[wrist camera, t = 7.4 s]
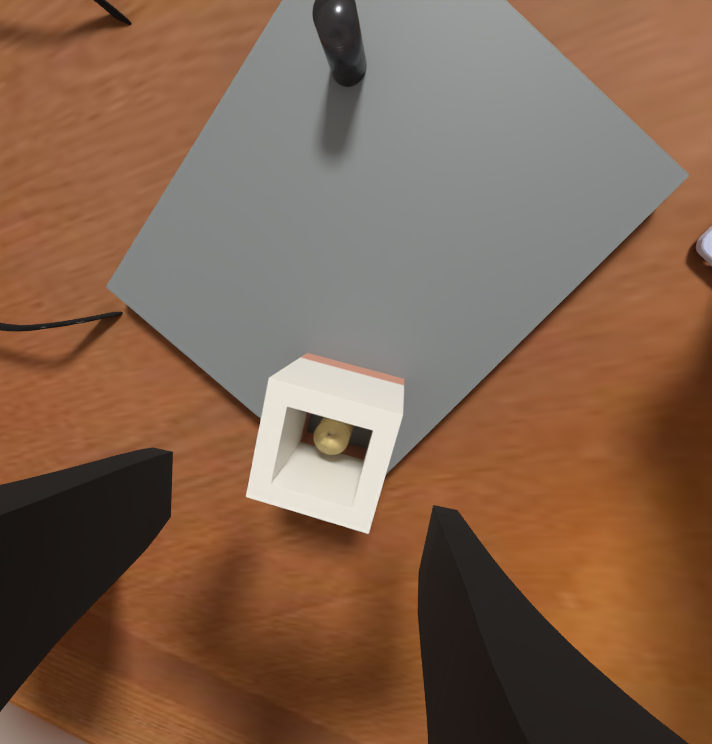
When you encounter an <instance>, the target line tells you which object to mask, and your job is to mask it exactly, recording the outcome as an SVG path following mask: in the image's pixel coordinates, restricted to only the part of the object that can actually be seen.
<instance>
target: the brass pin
mask: <svg viewBox="0 0 712 744" xmlns="http://www.w3.org/2000/svg"><path fill="white" fill-rule="evenodd" d="M354 426H355V425H351V424H348V423H344V422H341V421H337V420H334V419H330V418H327V417H323V419H322V420H321V422H320V423H319V425H318V426H317V428H316V430H315V432H314V443H315V445H316V447H317V448H318V449H319V450H320V451H321V452H323V453H325V454H328V455H336V454H339V453H341V452H342V451H344V450H345V448H346V447H347V445H348V442H349V439H350V437H351V434H352V432H353V429H354Z"/></svg>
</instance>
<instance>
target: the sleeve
mask: <svg viewBox="0 0 712 744" xmlns="http://www.w3.org/2000/svg"><path fill="white" fill-rule="evenodd" d="M403 404H404V379H403V378H399V377H396V376H392V375H388V374H384V373H381V372H377V371H373V370H369V369H366V368H362V367H358V366H355V365H351V364H347V363H343V362H340V361H336V360H332V359H329V358H325V357H321V356H317V355H314V354H310V353H306V354H305V355H303V356H302V357H300V358H299V359H297V360H296V361H294V362H292V363H291V364H289V365H288V366H286V367H285V368H283V369H282V370H280V371H279V372H277V373H276V374H274V375H272V376H271V377H269V379H268V385H267V390H266V395H265V400H264V405H263V411H262V416H261V421H260V426H259V432H258V437H257V442H256V447H255V452H254V458H253V463H252V468H251V473H250V479H249V484H248V489H247V494H246V497H248V498H251V499H255V500H258V501H261V502H265V503H268V504H271V505H275V506H278V507H281V508H285V509H288V510H291V511H294V512H298V513H301V514H304V515H308V516H311V517H314V518H318V519H321V520H324V521H328V522H331V523H334V524H338V525H341V526H344V527H347V528H351V529H354V530H357V531H361V532H364V533H367V534H369V530H370V527H371V524H372V520H373V517H374V513H375V510H376V506H377V503H378V499H379V496H380V493H381V489H382V486H383V482H384V479H385V475H386V472H387V469H388V465H389V462H390V458H391V455H392V451H393V448H394V444H395V441H396V438H397V434H398V431H399V427H400V424H401V420H402V417H403ZM311 413H312V414H316V415H319V416H323V417H327V418H330V419H334V420H337V421H341V422H344V423H348V424H351V425H355V426H359V427H362V428H366V429H369V430H372V432H371V436H370V440H369V443H368V447H367V449H365V448H362V447H358V446H355V445H351V444H348V445H347V447H346V448H345V450H344V451H342V452H341V453H339V454H336V455H328V454H325V453H323V452H321V451H320V450H319V449H318V448H317V447H316V445H315V443H314V434H313V433H309V432H307V430H308V426H309V421H310V417H311Z"/></svg>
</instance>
